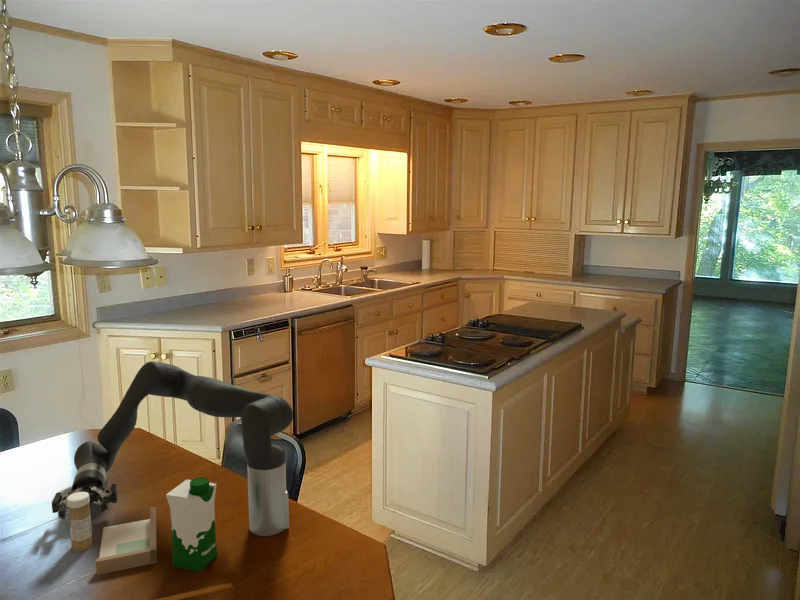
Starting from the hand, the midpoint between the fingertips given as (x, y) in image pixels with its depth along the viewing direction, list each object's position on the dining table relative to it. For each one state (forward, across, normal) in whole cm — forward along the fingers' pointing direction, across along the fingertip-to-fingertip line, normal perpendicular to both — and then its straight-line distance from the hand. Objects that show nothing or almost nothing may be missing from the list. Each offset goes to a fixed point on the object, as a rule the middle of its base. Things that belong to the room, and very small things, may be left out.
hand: (82, 512), depth 142 cm
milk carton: (+20, +24, +7) cm, 32 cm away
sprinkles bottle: (+5, 0, +7) cm, 9 cm away
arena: (+8, +10, +7) cm, 14 cm away
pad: (+11, +11, +6) cm, 16 cm away
